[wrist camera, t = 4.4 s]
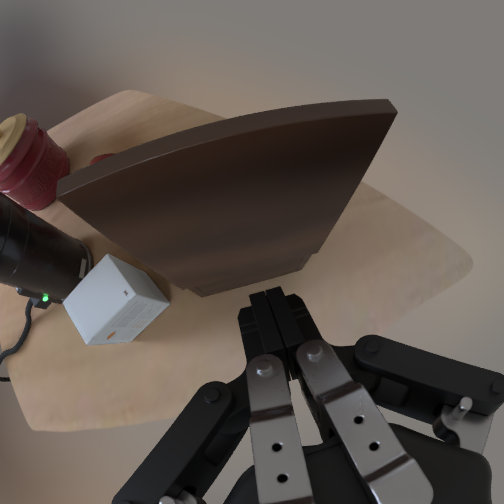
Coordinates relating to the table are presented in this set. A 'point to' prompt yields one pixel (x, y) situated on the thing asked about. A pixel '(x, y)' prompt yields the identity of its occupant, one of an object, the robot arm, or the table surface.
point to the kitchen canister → (30, 163)
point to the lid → (232, 189)
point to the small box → (114, 302)
